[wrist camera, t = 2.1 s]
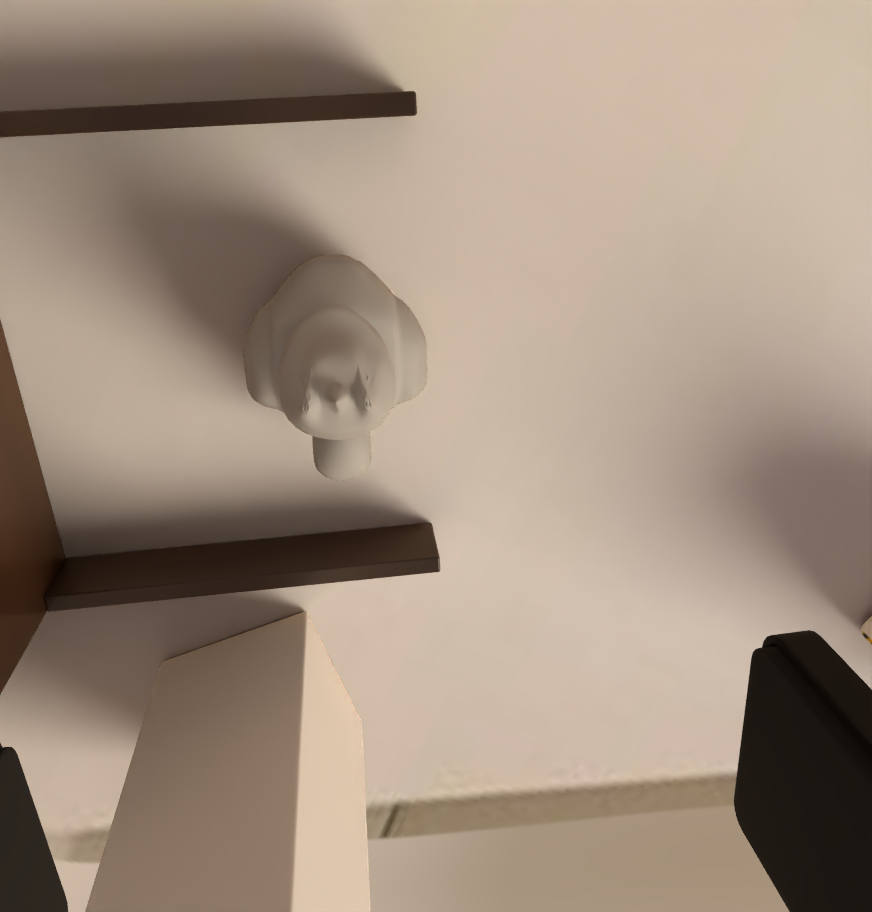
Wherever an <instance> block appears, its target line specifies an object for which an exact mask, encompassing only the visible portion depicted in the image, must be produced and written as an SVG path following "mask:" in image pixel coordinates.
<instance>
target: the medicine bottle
mask: <svg viewBox="0 0 872 912" xmlns="http://www.w3.org/2000/svg"><path fill="white" fill-rule="evenodd" d="M861 632H862V634H863V636H864V637H865V638H866V639H867V640H868V641H869V642H870V643H871V644H872V616H871V617H870V618H869V619H868V620H867V621H866V622H865V623H864V624H863V626H862V627H861Z"/></svg>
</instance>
